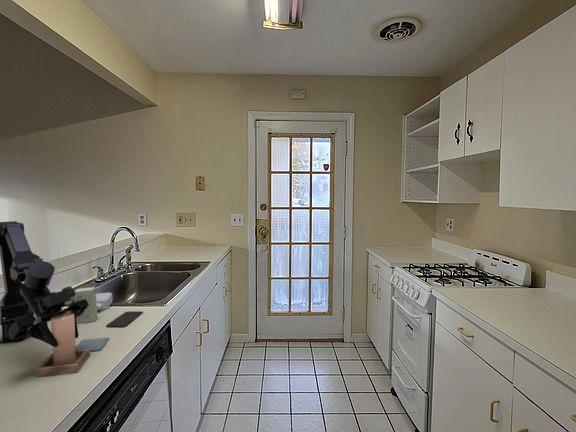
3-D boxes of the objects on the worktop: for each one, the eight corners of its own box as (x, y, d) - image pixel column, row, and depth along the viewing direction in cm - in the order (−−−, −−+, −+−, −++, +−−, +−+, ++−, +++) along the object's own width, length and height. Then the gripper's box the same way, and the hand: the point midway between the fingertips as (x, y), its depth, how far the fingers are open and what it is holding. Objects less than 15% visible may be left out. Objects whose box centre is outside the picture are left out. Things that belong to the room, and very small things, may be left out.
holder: (36, 377, 83) (35, 369, 82) (53, 359, 92) (53, 352, 92) (77, 372, 85) (77, 365, 85) (90, 355, 94) (90, 348, 94)
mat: (71, 353, 95) (71, 351, 95) (81, 341, 103) (81, 339, 103) (101, 350, 97) (101, 348, 97) (109, 339, 105) (109, 337, 104)
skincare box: (97, 317, 123) (96, 286, 122) (94, 321, 119) (93, 289, 118) (78, 319, 121) (77, 288, 120) (74, 324, 117) (73, 291, 116)
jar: (49, 371, 85) (47, 320, 84) (58, 361, 90) (56, 313, 89) (71, 369, 86) (69, 319, 86) (79, 359, 91) (77, 312, 91)
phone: (144, 311, 129) (125, 326, 114) (144, 313, 129) (125, 328, 114) (126, 311, 129) (104, 326, 114) (126, 313, 129) (104, 328, 114)
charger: (77, 317, 124) (89, 304, 138) (104, 314, 126) (112, 302, 141) (77, 305, 123) (88, 294, 138) (103, 303, 126) (112, 292, 140)
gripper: (12, 289, 79) (43, 339, 76) (83, 272, 97) (111, 312, 94) (-5, 315, 83) (24, 364, 80) (67, 294, 100) (93, 334, 97)
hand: (67, 341), depth 87 cm, fingers closed on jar, 5 cm apart
